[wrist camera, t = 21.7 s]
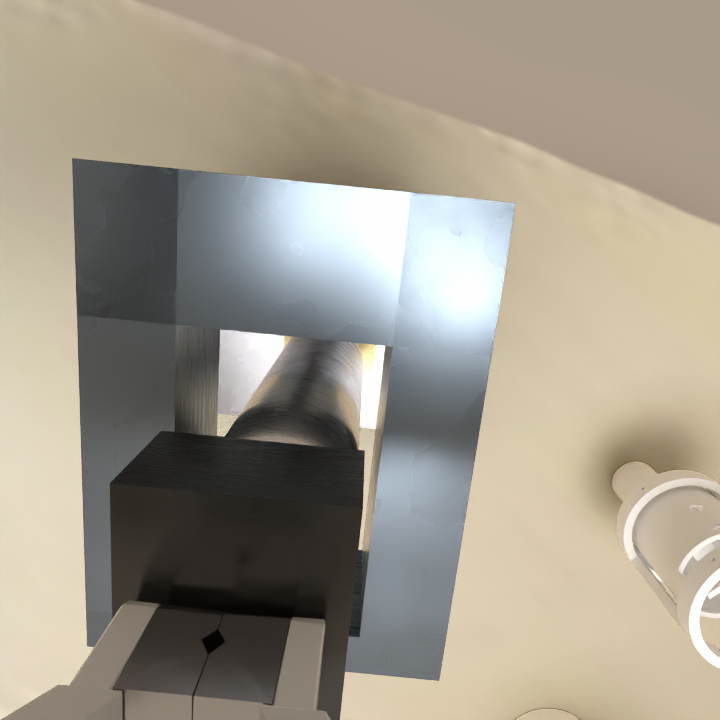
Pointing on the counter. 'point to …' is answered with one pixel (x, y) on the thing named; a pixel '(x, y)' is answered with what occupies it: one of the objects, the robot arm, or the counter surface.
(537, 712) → the cylindrical container
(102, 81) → the counter surface
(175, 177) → the press
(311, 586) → the ram
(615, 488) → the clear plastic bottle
